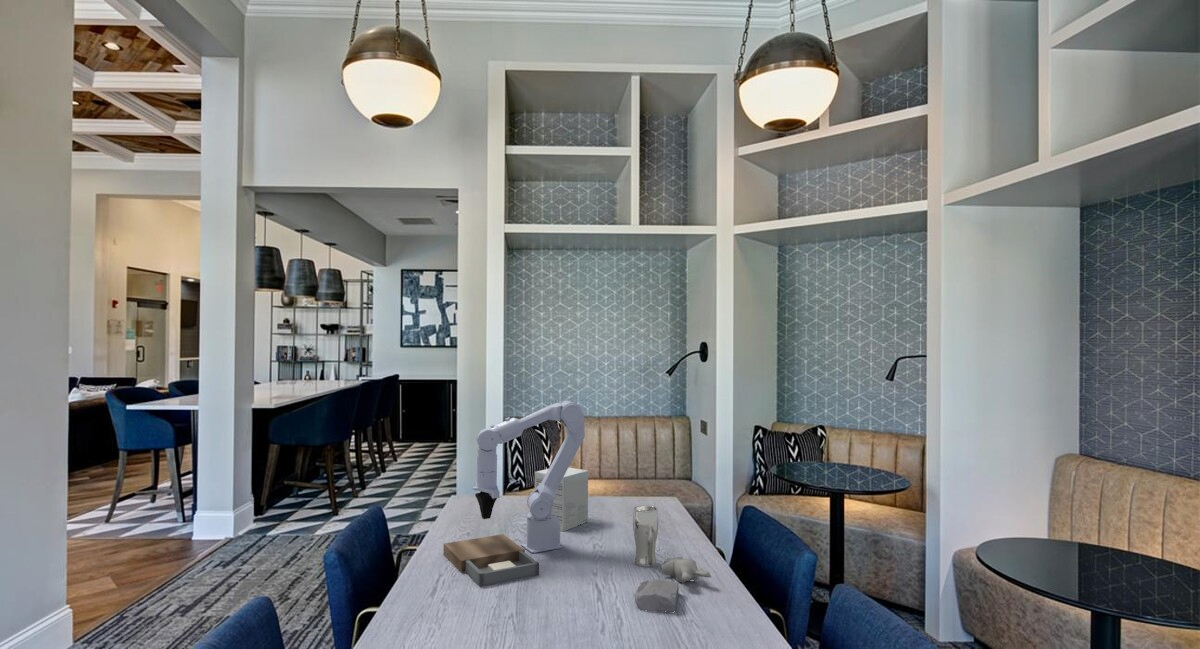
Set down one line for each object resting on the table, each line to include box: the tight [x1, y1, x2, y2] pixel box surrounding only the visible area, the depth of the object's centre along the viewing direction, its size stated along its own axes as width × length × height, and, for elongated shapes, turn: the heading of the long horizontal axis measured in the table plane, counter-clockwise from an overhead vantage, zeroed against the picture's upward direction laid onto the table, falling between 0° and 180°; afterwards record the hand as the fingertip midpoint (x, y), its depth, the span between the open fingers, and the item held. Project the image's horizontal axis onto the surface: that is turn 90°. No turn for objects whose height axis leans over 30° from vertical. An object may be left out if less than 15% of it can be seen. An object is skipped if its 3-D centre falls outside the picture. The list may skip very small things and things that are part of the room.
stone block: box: [634, 578, 679, 613], centre depth 143 cm, size 12×5×10 cm
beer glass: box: [632, 504, 659, 568], centre depth 168 cm, size 7×7×15 cm
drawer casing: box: [442, 534, 526, 573], centre depth 171 cm, size 18×16×3 cm
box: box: [464, 551, 540, 587], centre depth 159 cm, size 16×11×3 cm
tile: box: [488, 561, 515, 571], centre depth 158 cm, size 6×6×2 cm
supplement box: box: [534, 467, 589, 532], centre depth 205 cm, size 13×13×18 cm
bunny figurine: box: [661, 556, 712, 583], centre depth 157 cm, size 10×5×15 cm
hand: (486, 518), depth 177 cm, fingers closed
